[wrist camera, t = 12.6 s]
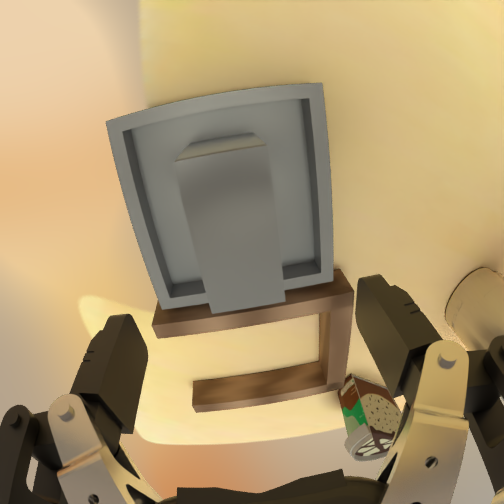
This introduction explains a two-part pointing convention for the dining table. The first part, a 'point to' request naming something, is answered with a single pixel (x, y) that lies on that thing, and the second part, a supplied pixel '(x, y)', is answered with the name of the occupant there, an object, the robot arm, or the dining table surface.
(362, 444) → the food container
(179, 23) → the dining table surface
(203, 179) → the grey rectangular prism
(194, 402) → the walnut bay
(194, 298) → the charcoal tray
